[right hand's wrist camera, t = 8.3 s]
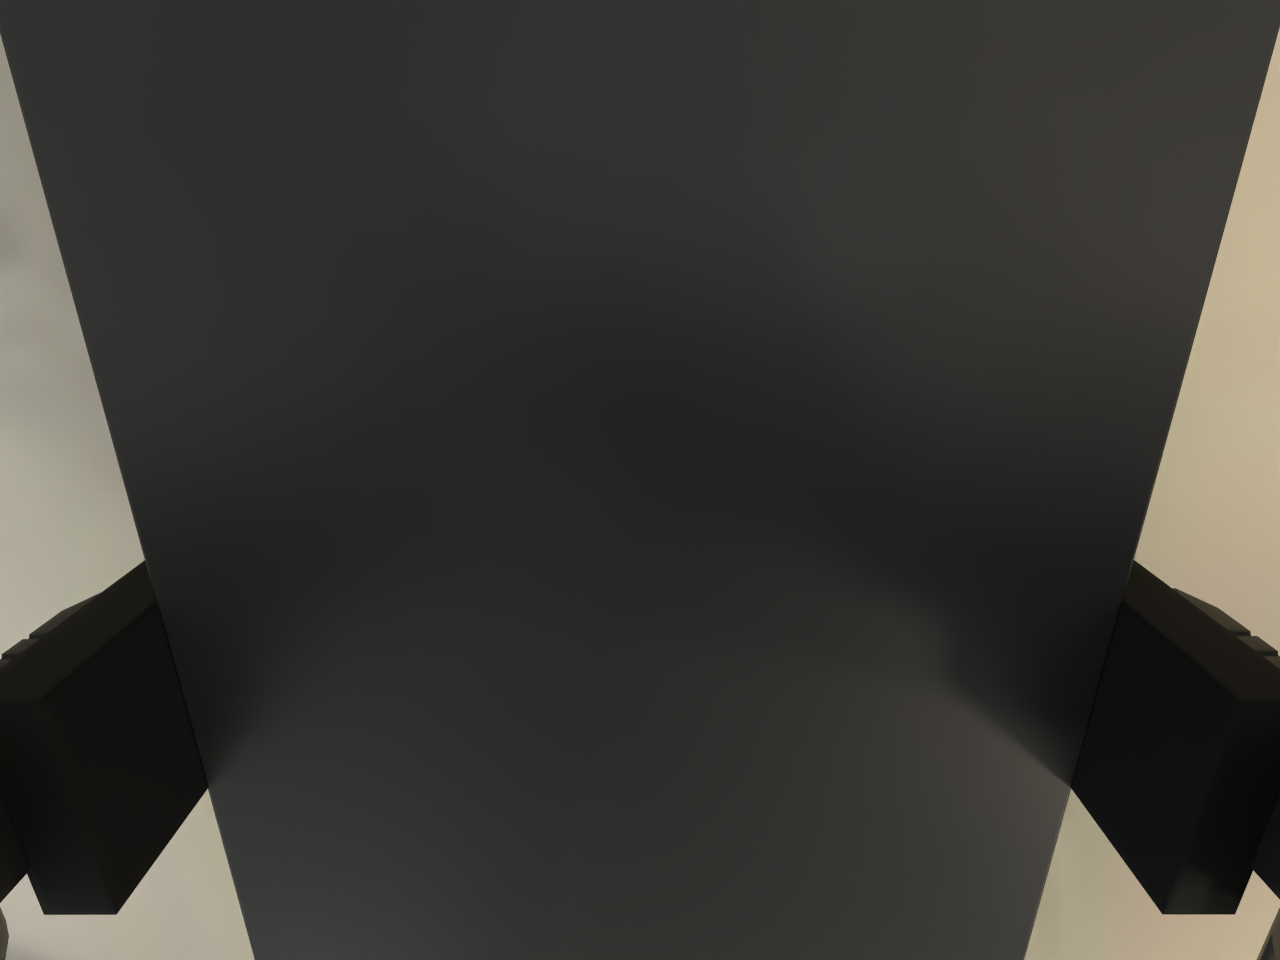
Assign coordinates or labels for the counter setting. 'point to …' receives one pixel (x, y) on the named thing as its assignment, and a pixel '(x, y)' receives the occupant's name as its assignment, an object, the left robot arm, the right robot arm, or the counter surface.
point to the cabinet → (639, 439)
